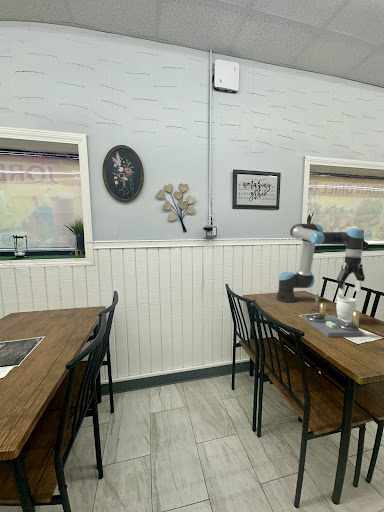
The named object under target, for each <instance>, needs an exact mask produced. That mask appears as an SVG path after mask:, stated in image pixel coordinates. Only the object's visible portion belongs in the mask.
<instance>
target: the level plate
mask: <svg viewBox="0 0 384 512" xmlns="http://www.w3.org/2000/svg"><path fill="white" fill-rule="evenodd" d="M317 315H318V316H319V314H317ZM337 317H338V316H336V315H334V314H325V321H324V322H314V321H311V320H309V319H307V315H303V320H304V321H305V322H307V323H308V324H310V325H311V326H312V327H314V328H315V329H316V330H318V331H320V333H322V334H324V335H325V336H326V337H328V338H337V337H338V338H339V337H340V338H342V337H345V338H346V337H348V338H349V337H363V331H362V330H360V329H358V330H357V331H349V330H345V329H342V328H340V327H339V326H338V323H339V322H344V321H343V320H341V319H339V318H337Z"/></svg>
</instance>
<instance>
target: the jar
mask: <svg viewBox="0 0 384 512" xmlns="http://www.w3.org/2000/svg"><path fill="white" fill-rule="evenodd" d="M336 299H337V301H336V307H335V308H336V315H337V316H336V317H337V318H339V319H341V320H343V321H344V322H347V323H351V324H352V318H353V310H356V311H357V309H356V308H357V304H356V303H357V299H356V298H353V297H350V296H343V295H339V296H337V298H336Z"/></svg>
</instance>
